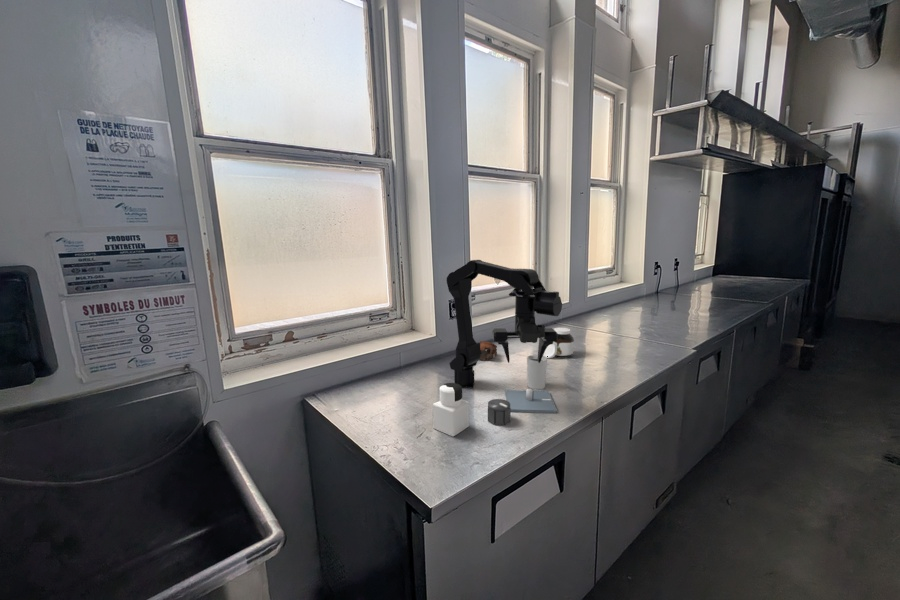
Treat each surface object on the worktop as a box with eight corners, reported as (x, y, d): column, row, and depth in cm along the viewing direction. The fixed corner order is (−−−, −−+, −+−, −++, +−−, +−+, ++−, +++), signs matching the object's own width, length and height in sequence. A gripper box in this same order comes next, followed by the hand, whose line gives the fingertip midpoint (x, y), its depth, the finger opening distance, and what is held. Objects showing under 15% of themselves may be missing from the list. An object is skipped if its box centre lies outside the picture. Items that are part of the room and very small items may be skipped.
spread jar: (575, 355, 159) (576, 328, 157) (568, 362, 150) (569, 334, 148) (547, 350, 165) (548, 325, 164) (539, 357, 156) (540, 331, 154)
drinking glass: (546, 390, 122) (547, 361, 121) (526, 389, 124) (526, 360, 122) (545, 382, 129) (546, 355, 127) (526, 381, 130) (526, 354, 129)
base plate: (508, 411, 108) (508, 399, 107) (505, 392, 121) (505, 380, 121) (557, 413, 106) (557, 400, 106) (548, 393, 120) (548, 381, 119)
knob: (483, 419, 103) (483, 402, 102) (498, 412, 107) (498, 396, 106) (499, 427, 99) (499, 409, 98) (514, 420, 102) (514, 403, 102)
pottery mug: (469, 358, 158) (475, 340, 161) (487, 365, 162) (492, 347, 164) (483, 358, 148) (488, 339, 150) (502, 366, 151) (507, 347, 153)
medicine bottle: (449, 418, 104) (449, 378, 102) (469, 426, 99) (469, 384, 98) (432, 428, 99) (431, 386, 97) (453, 437, 94) (452, 393, 92)
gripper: (496, 317, 101) (495, 372, 103) (564, 317, 100) (562, 371, 103) (492, 310, 112) (491, 359, 114) (553, 309, 111) (551, 359, 114)
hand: (523, 362), depth 111 cm, fingers open, 9 cm apart
